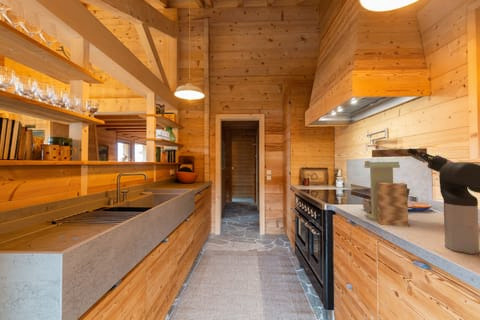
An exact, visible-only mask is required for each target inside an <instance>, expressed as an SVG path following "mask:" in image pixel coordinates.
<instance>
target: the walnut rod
mask: <svg viewBox="0 0 480 320" xmlns="http://www.w3.org/2000/svg"><path fill="white" fill-rule="evenodd" d="M412 149H413V150H416V151H417V152H418V151H420V152H424V153H426V154H428V148H427V147H425V148H423V147H422V148H421V147H420V148H419V147H417V148H412ZM408 150H409V148H396V149H395V148H393V149H372V150H371V158H399V157H400V158H401V157H405V158H406V157H409V158H410V157H411V156H415V155H413V154H411V153H409V152H407V151H408ZM424 155H425V154H424Z"/></svg>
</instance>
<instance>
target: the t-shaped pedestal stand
mask: <svg viewBox="0 0 480 320" xmlns="http://www.w3.org/2000/svg"><path fill="white" fill-rule="evenodd" d="M364 168H365V169H369V170H370V176H369V177H370V200H371V213H366V215H365V216H366V217H367V219H368V220H369V221H376V222H377V219H378V211H377V183H394V168H395V169H398V168H399V169H400V161H370V160H366V161H364Z"/></svg>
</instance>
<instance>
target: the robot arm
mask: <svg viewBox="0 0 480 320" xmlns="http://www.w3.org/2000/svg"><path fill="white" fill-rule="evenodd" d="M408 149H409V150H408V151H407V152H409V153H411V154H413V155H415V156H410V157H412V158H414V159H415V160H418V161H419V162H422V163H426V164H427V168H428V169H430V170H433V171H435V172H437V173H438V174H439V175H438V176H439V177H438V178H439V180H438V181H439V189H440V195H441V197H442V199H443V200H442V201H443V225H444V226H443V227H444V228H443V229H444V246H445V248H447V249H449V250H451V251H455V252H460V253H465V254H470V255H477V254H479V253H480V233H479V232H480V230H479V202H478V198H477V197H476V196H475V195H473V194H472V193H473V192H474V193H476V194H480V164H477V163H473V162H465V161H464V162H463V161H462V162H459V161H458V162H456V161H455V162H454V161H452V160H450V159H447V158H445V157H443V156H440V155H431V154H429V153H427V154H426V153H424V152H420V151H418V152H417V151H416V150H413V149H414V148H408ZM424 154H425V155H424ZM470 191H471V192H472V193H471V192H470Z"/></svg>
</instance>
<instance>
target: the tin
mask: <svg viewBox="0 0 480 320" xmlns="http://www.w3.org/2000/svg"><path fill="white" fill-rule="evenodd" d="M362 207H363V210H364V211H365V212H366V213H367V214H371V199H369V198H363V199H362Z"/></svg>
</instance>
